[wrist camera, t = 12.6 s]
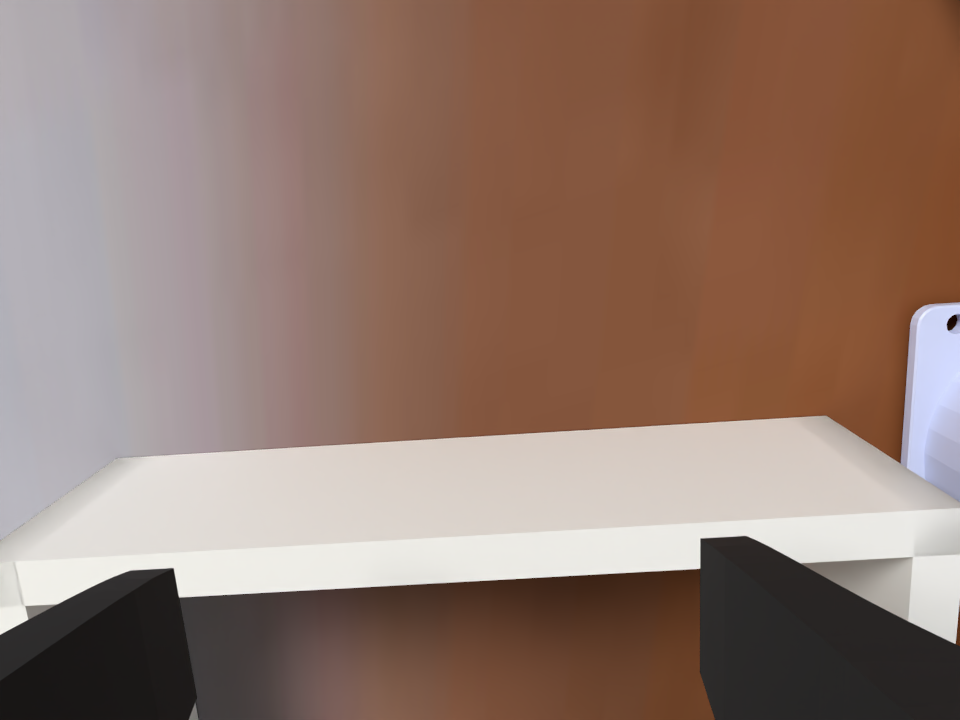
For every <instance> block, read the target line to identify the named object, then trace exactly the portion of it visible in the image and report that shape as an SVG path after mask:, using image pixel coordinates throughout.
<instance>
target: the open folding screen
mask: <svg viewBox="0 0 960 720" xmlns="http://www.w3.org/2000/svg"><path fill="white" fill-rule="evenodd" d="M735 536H748V537H750V538H752V539H755V540H757V541H759V542H761V543H763V544H765V545H767V546H769V547H771V548H773V549H775V550H777V551H779V552H780V553H782V554H784V555H786V556H788V557H790V558H791V559H793V560H795V561H797V562H799V563H800V564H802V565H804V566H806V567H808V568H809V569H811V570H813V571H815V572H817V573H818V574H820V575H822V576H824V577H826V578H827V579H829V580H831V581H833V582H835V583H836V584H838V585H840V586H842V587H844V588H846V589H847V590H849V591H851V592H853V593H855V594H857V595H859V596H860V597H862V598H864V599H866V600H868V601H870V602H872V603H874V604H875V605H877V606H879V607H881V608H883V609H885V610H887V611H889V612H891V613H893V614H895V615H897V616H899V617H901V618H903V619H905V620H907V621H908V622H911V623H913V624H915V625H917V626H919V627H921V628H923V629H925V630H927V631H929V632H931V633H933V634H935V635H938V636H940V637H942V638H944V639H946V640H948V641H950V642H952V643H954V644H956V635H957V624H958V613H959V602H960V502H959V501H957V500H956V499H954V498H953V497H951V496H950V495H948V494H946V493H945V492H943V491H942V490H940V489H939V488H937V487H936V486H934V485H933V484H931V483H929V482H928V481H926V480H925V479H923V478H922V477H920V476H919V475H917V474H916V473H914V472H912V471H911V470H909V469H908V468H906V467H905V466H903V465H902V464H900V463H899V462H897V461H895V460H894V459H892V458H891V457H889V456H888V455H886V454H885V453H883V452H881V451H880V450H878V449H877V448H875V447H874V446H872V445H871V444H869V443H868V442H866V441H864V440H863V439H861V438H860V437H858V436H857V435H855V434H854V433H852V432H851V431H849V430H847V429H846V428H844V427H843V426H841V425H840V424H838V423H837V422H835V421H834V420H832V419H830V418H829V417H827V416H813V417H796V418H780V419H763V420H746V421H730V422H713V423H696V424H680V425H663V426H647V427H630V428H613V429H597V430H580V431H563V432H547V433H530V434H514V435H497V436H480V437H464V438H447V439H430V440H414V441H397V442H380V443H364V444H347V445H331V446H314V447H297V448H281V449H264V450H247V451H231V452H214V453H198V454H181V455H164V456H148V457H131V458H116V459H115V460H114V461H112V462H111V463H109V464H108V465H106V466H105V467H104V468H102V469H101V470H99V471H98V472H97V473H95V474H94V475H92V476H91V477H89V478H88V479H87V480H85V481H84V482H82V483H81V484H80V485H78V486H77V487H75V488H74V489H73V490H71V491H70V492H68V493H67V494H65V495H64V496H63V497H61V498H60V499H58V500H57V501H56V502H54V503H53V504H51V505H50V506H48V507H47V508H46V509H44V510H43V511H41V512H40V513H39V514H37V515H36V516H34V517H33V518H31V519H30V520H29V521H27V522H26V523H24V524H23V525H22V526H20V527H19V528H17V529H16V530H14V531H13V532H12V533H10V534H9V535H7V536H6V537H5V538H3V539H2V540H0V634H2V633H4V632H6V631H8V630H10V629H12V628H14V627H15V626H17V625H19V624H21V623H23V622H25V621H27V620H29V619H31V618H32V617H34V616H36V615H38V614H40V613H42V612H44V611H46V610H48V609H50V608H51V607H53V606H55V605H57V604H59V603H61V602H63V601H65V600H67V599H69V598H71V597H73V596H75V595H76V594H78V593H80V592H82V591H84V590H86V589H88V588H90V587H93V586H95V585H97V584H99V583H101V582H103V581H105V580H107V579H110V578H112V577H114V576H117V575H120V574H122V573H125V572H128V571H130V570H148V569H166V568H174V572H175V578H176V584H177V589H178V595H179V597H197V596H216V595H234V594H252V593H270V592H288V591H306V590H324V589H343V588H361V587H379V586H397V585H415V584H433V583H451V582H469V581H488V580H506V579H524V578H542V577H560V576H578V575H596V574H614V573H633V572H651V571H669V570H687V569H700V538H717V537H735ZM189 720H198V714H197V709H196V703H195V704H194V707H193V710H192V713H191V715H190V718H189Z"/></svg>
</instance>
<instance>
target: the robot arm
mask: <svg viewBox="0 0 960 720" xmlns="http://www.w3.org/2000/svg"><path fill="white" fill-rule="evenodd" d="M952 315H956V316H957V320H958V321H957V324H956V326H955V327H954V328H953V329H952V330H949V331H948V330H947V322H948V319H949V318H950V317H951V316H952ZM901 464H902V465H903V466H905V467H906V468H908V469H909V470H911V471H912V472H914V473H916V474H917V475H919V476H920V477H922V478H923V479H925V480H926V481H928V482H929V483H931V484H933V485H934V486H936V487H937V488H939V489H940V490H942V491H943V492H945V493H946V494H948V495H950V496H951V497H953V498H954V499H956V500H957V501H959V502H960V302H959V303H943V304H930V305H926V306H923V307H921V308H920V309H918V310H917V311H916V313H915V314H914V315H913V317H912V320H911V324H910V337H909V351H908V366H907V380H906V395H905V409H904V424H903V438H902V453H901ZM700 673H701V676H702V680H703V683H704V686H705V689H706V692H707V695H708V699H709V702H710V705H711V708H712V711H713V714H714V717H715V720H960V646H958V645H956V644H954V643H952V642H950V641H948V640H946V639H944V638H942V637H940V636H938V635H935V634H933V633H931V632H929V631H927V630H925V629H923V628H921V627H919V626H917V625H915V624H913V623H911V622H908V621H907V620H905V619H903V618H901V617H899V616H897V615H895V614H893V613H891V612H889V611H887V610H885V609H883V608H881V607H879V606H877V605H875V604H874V603H872V602H870V601H868V600H866V599H864V598H862V597H860V596H859V595H857V594H855V593H853V592H851V591H849V590H847V589H846V588H844V587H842V586H840V585H838V584H836V583H835V582H833V581H831V580H829V579H827V578H826V577H824V576H822V575H820V574H818V573H817V572H815V571H813V570H811V569H809V568H808V567H806V566H804V565H802V564H800V563H799V562H797V561H795V560H793V559H791V558H790V557H788V556H786V555H784V554H782V553H780V552H779V551H777V550H775V549H773V548H771V547H769V546H767V545H765V544H763V543H761V542H759V541H757V540H755V539H752V538H750V537H748V536H735V537H717V538H700ZM196 699H197V696H196V690H195V684H194V679H193V673H192V668H191V662H190V656H189V651H188V645H187V640H186V634H185V628H184V623H183V617H182V612H181V606H180V600H179V595H178V589H177V584H176V578H175V572H174V568H166V569H148V570H130V571H128V572H125V573H122V574H120V575H117V576H114V577H112V578H110V579H107V580H105V581H103V582H101V583H99V584H97V585H95V586H93V587H90V588H88V589H86V590H84V591H82V592H80V593H78V594H76V595H75V596H73V597H71V598H69V599H67V600H65V601H63V602H61V603H59V604H57V605H55V606H53V607H51V608H50V609H48V610H46V611H44V612H42V613H40V614H38V615H36V616H34V617H32V618H31V619H29V620H27V621H25V622H23V623H21V624H19V625H17V626H15V627H14V628H12V629H10V630H8V631H6V632H4V633H2V634H0V720H189V718H190V715H191V713H192V710H193V707H194V704H195V702H196Z"/></svg>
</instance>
